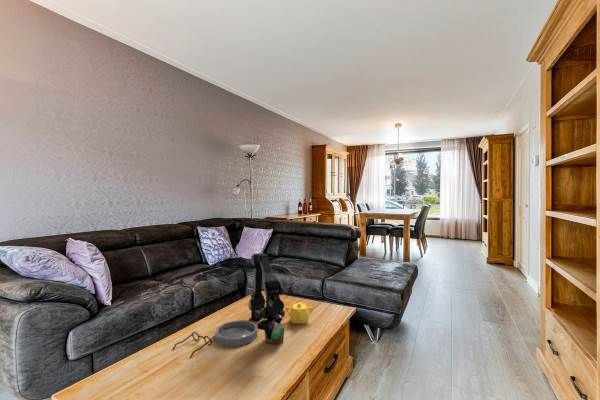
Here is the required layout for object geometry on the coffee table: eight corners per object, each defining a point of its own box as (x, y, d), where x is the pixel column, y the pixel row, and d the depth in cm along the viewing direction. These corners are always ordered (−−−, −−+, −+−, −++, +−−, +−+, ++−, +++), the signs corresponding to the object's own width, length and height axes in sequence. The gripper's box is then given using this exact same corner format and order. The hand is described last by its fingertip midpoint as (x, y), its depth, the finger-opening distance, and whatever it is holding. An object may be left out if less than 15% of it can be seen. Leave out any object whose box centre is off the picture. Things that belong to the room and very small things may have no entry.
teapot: (316, 322, 167) (316, 304, 167) (299, 329, 158) (299, 310, 158) (300, 315, 177) (300, 298, 177) (283, 321, 169) (283, 303, 169)
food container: (257, 342, 144) (257, 322, 144) (264, 337, 149) (264, 317, 149) (279, 348, 138) (279, 327, 138) (285, 342, 144) (285, 322, 143)
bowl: (231, 324, 165) (231, 318, 164) (264, 330, 157) (264, 323, 157) (206, 341, 145) (206, 334, 145) (243, 349, 138) (243, 342, 138)
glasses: (212, 346, 141) (212, 336, 141) (189, 360, 130) (189, 348, 130) (193, 340, 148) (193, 330, 148) (170, 351, 137) (170, 341, 136)
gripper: (265, 296, 155) (266, 325, 155) (247, 309, 138) (247, 342, 138) (285, 299, 151) (285, 329, 151) (268, 313, 134) (268, 347, 134)
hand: (271, 336), depth 144 cm, fingers closed on food container, 6 cm apart
